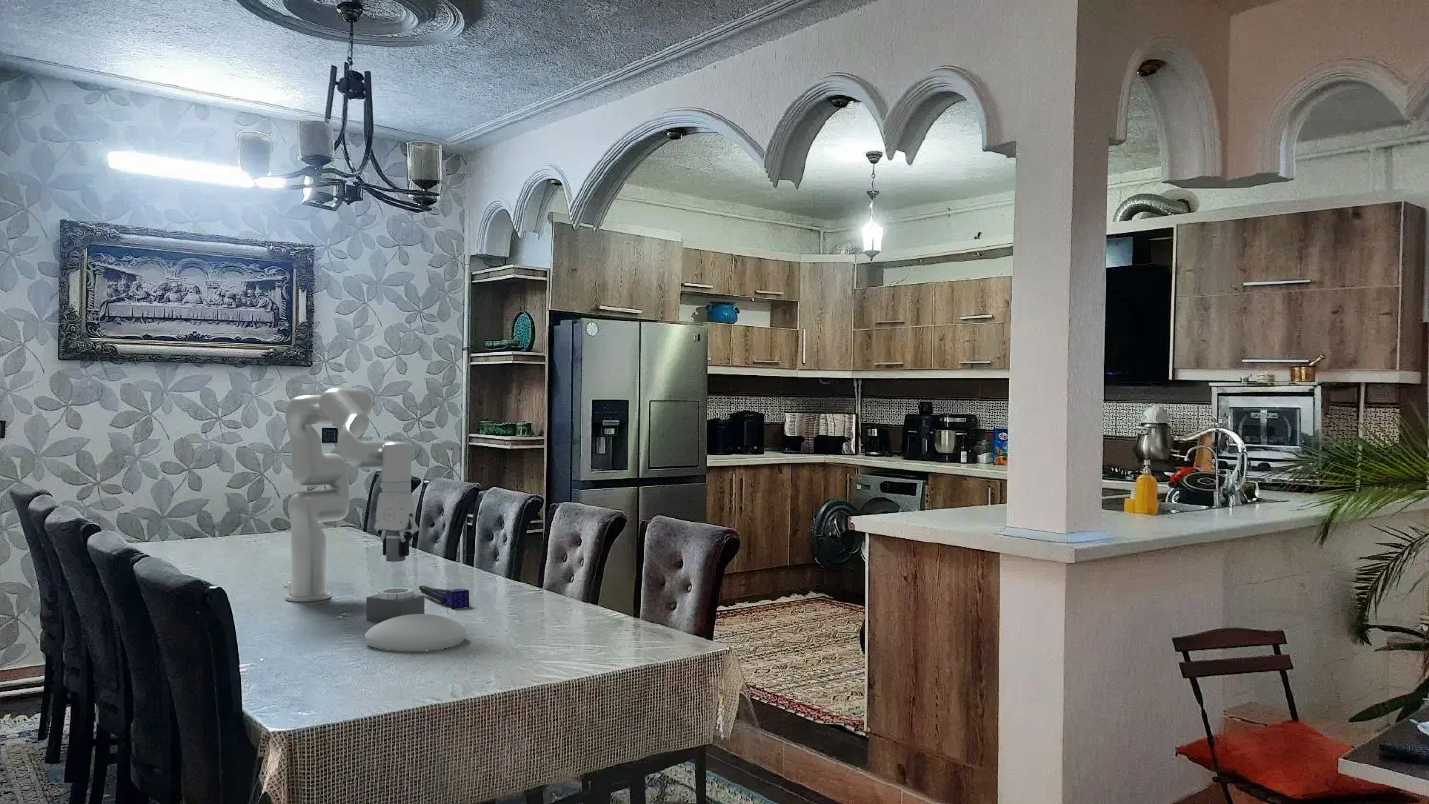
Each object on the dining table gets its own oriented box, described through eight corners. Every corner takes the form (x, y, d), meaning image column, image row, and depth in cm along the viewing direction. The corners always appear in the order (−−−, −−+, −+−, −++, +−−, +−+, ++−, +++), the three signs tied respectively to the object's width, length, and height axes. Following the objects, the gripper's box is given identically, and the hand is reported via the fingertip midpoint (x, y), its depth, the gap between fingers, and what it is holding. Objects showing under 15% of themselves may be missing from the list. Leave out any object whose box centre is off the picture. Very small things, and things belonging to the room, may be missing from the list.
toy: (413, 600, 310) (448, 610, 286) (413, 583, 310) (448, 592, 286) (440, 597, 315) (476, 606, 290) (439, 581, 315) (476, 589, 291)
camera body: (366, 619, 272) (366, 591, 272) (390, 613, 280) (390, 586, 280) (401, 624, 267) (401, 595, 267) (424, 617, 275) (424, 589, 275)
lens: (381, 560, 272) (381, 530, 272) (394, 558, 277) (395, 528, 277) (396, 562, 270) (396, 531, 270) (409, 559, 274) (409, 529, 274)
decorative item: (434, 657, 234) (481, 638, 253) (434, 627, 234) (481, 611, 253) (350, 648, 242) (402, 630, 261) (350, 619, 242) (402, 604, 261)
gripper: (362, 487, 273) (361, 555, 273) (411, 490, 266) (411, 559, 266) (381, 485, 280) (381, 551, 280) (430, 488, 273) (430, 555, 273)
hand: (395, 554), depth 273 cm, fingers closed on lens, 5 cm apart
